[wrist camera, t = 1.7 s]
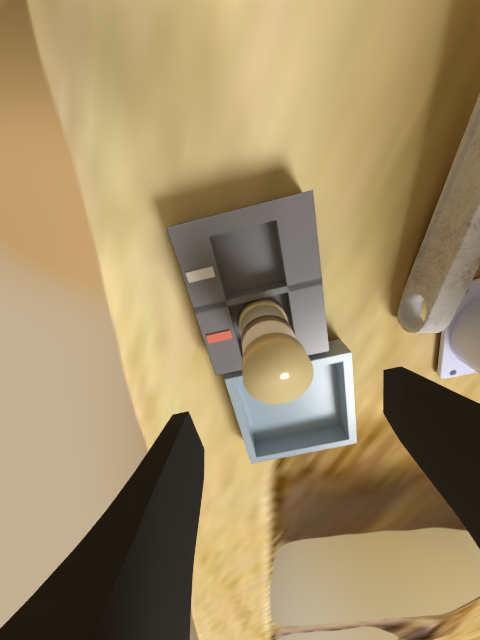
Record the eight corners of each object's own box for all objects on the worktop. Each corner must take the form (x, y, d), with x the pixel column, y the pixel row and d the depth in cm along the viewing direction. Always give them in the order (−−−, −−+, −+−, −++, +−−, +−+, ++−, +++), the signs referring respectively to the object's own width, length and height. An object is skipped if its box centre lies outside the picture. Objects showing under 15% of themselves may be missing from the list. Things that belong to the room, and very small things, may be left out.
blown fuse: (280, 292, 16) (309, 338, 10) (287, 334, 18) (317, 396, 12) (233, 303, 17) (235, 354, 11) (244, 343, 18) (251, 410, 12)
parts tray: (339, 338, 19) (351, 352, 17) (346, 424, 22) (356, 442, 21) (224, 363, 19) (224, 379, 18) (249, 443, 23) (251, 463, 21)
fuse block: (302, 192, 15) (313, 189, 13) (319, 337, 19) (329, 351, 17) (174, 225, 15) (166, 227, 13) (217, 359, 19) (215, 376, 17)
